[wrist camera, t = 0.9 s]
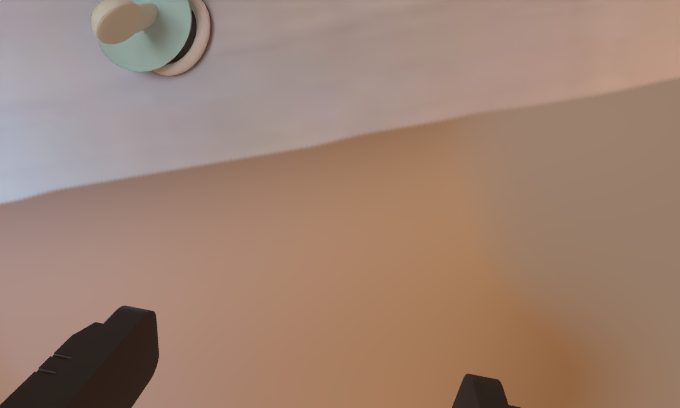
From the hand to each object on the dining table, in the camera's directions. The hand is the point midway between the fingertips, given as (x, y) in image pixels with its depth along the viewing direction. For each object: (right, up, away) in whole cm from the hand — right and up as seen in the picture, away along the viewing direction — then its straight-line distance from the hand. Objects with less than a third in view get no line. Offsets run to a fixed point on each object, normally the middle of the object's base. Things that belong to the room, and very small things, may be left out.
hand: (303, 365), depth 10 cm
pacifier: (-11, +17, +17) cm, 27 cm away
